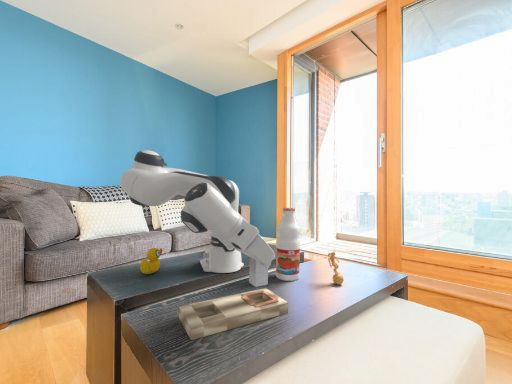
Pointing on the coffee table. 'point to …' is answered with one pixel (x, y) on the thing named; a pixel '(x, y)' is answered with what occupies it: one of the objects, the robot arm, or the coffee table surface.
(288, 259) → the fruit juice
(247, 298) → the beige flat wooden block
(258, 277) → the steel peg
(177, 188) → the robot arm
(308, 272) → the coffee table surface
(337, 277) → the figurine
